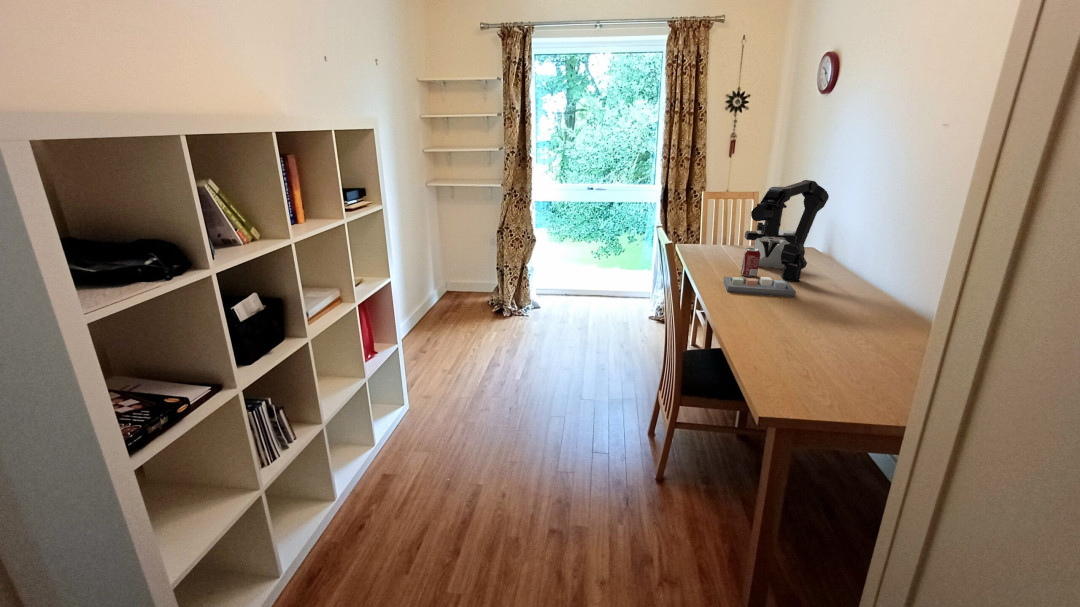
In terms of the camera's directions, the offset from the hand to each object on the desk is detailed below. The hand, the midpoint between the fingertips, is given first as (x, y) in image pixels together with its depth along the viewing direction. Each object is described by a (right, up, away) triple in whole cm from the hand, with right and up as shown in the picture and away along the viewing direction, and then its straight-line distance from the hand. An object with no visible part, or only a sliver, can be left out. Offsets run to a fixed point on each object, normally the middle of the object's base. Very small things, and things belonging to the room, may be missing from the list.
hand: (766, 257), depth 209 cm
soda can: (0, -7, +18) cm, 19 cm away
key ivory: (-2, -11, -3) cm, 12 cm away
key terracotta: (-7, -12, -2) cm, 14 cm away
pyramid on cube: (+17, -1, +34) cm, 37 cm away
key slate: (+3, -13, -4) cm, 14 cm away
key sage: (-13, -11, -1) cm, 17 cm away
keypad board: (-5, -13, -2) cm, 14 cm away
